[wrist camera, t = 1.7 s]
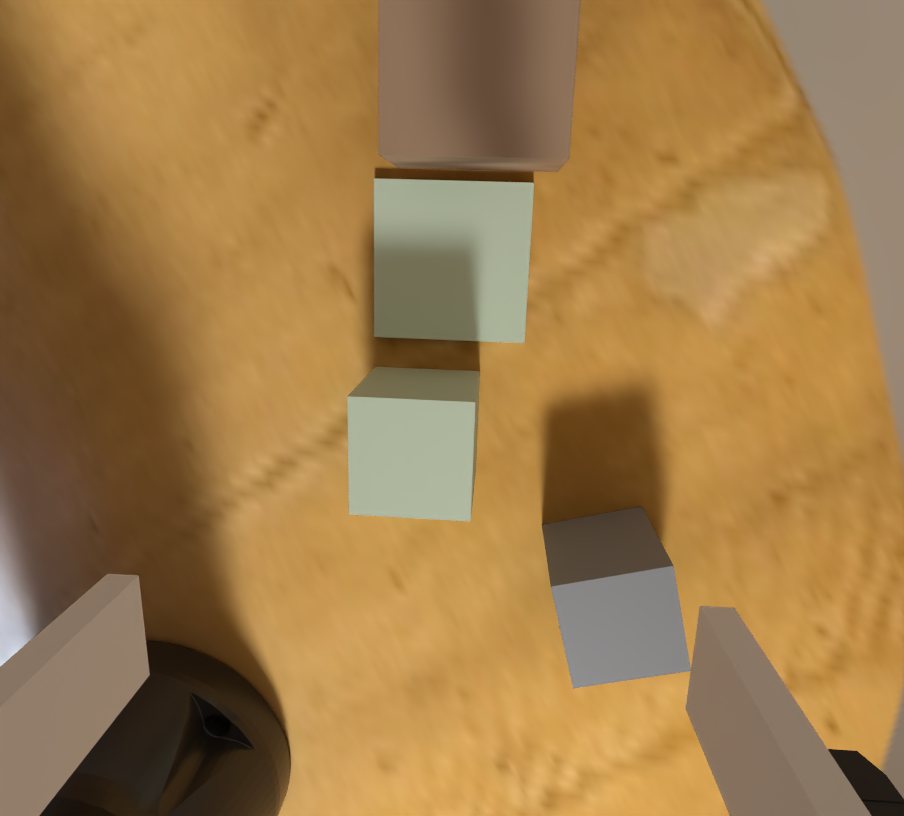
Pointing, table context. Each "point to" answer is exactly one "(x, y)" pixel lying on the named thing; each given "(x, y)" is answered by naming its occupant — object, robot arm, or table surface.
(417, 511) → the sage block
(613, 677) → the gray block
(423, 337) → the tile
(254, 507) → the table surface
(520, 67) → the walnut base
